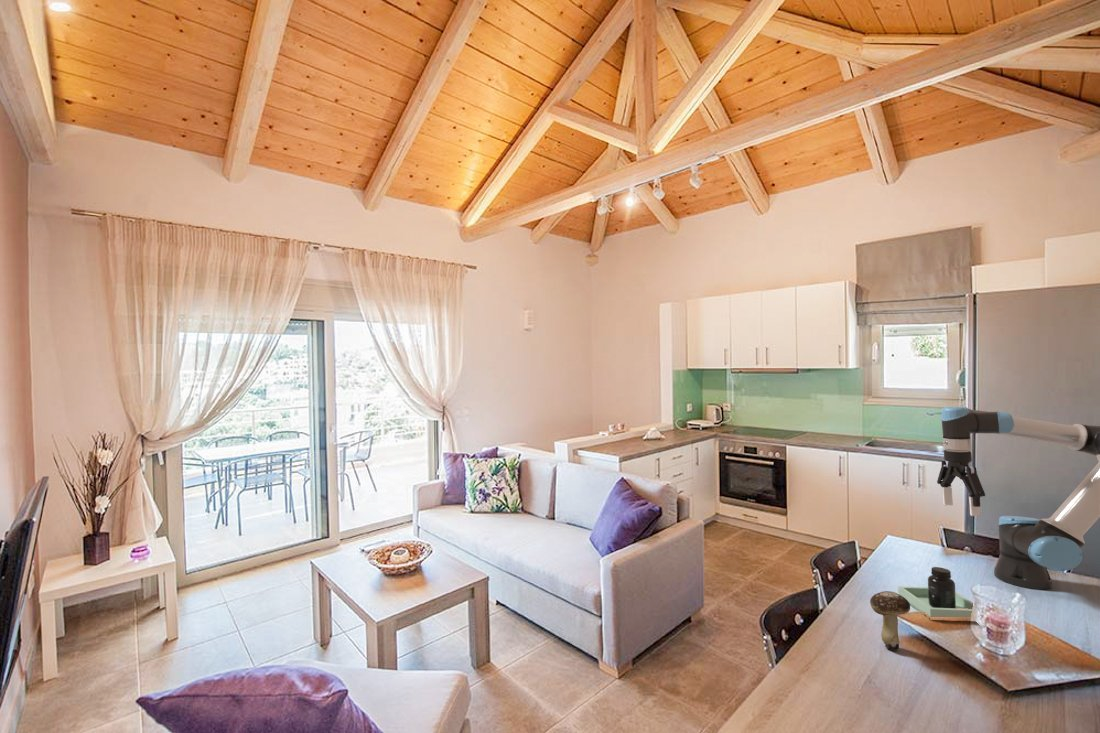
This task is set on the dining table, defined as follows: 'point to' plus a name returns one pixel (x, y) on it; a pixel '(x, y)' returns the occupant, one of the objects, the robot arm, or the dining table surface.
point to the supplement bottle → (941, 589)
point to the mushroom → (890, 615)
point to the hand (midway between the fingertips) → (961, 510)
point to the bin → (921, 603)
